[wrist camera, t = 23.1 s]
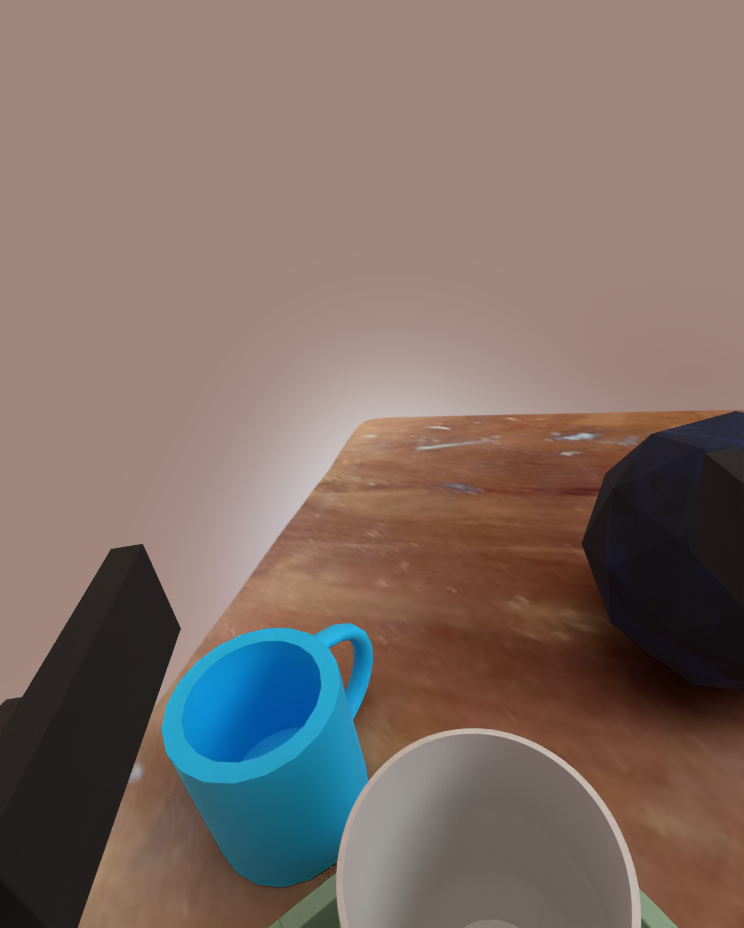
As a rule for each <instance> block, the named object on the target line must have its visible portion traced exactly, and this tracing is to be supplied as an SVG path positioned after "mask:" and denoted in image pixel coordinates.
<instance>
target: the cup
mask: <svg viewBox="0 0 744 928" xmlns="http://www.w3.org/2000/svg"><path fill="white" fill-rule="evenodd" d="M336 894H337V906H338V914H339V920H340V925H341V928H641V905H640V895H639V888H638V882H637V877H636V873H635V869H634V865H633V862H632V858H631V855H630V852H629V850H628V847H627V844H626V842H625V840H624V837H623V835H622V833H621V831H620V829H619V827H618V825H617V823H616V821H615V819H614V818H613V816H612V814H611V812H610V811H609V809H608V808H607V806H606V805H605V803H604V802H603V801H602V799H601V798H600V796H599V795H598V794H597V793H596V791H595V790H594V789H593V788H592V787H591V785H590V784H589V783H588V782H587V781H586V780H585V779H584V778H583V777H582V776H581V775H580V774H579V773H578V772H577V771H576V770H575V769H573V768H572V767H571V766H570V765H569V764H567V763H566V762H565V761H564V760H562V759H561V758H560V757H558V756H557V755H555V754H554V753H552V752H551V751H549V750H547V749H546V748H544V747H542V746H540V745H538V744H536V743H534V742H532V741H530V740H527V739H525V738H522V737H519V736H516V735H513V734H510V733H506V732H502V731H497V730H490V729H478V728H467V729H456V730H449V731H444V732H440V733H437V734H433V735H430V736H428V737H425V738H423V739H420V740H418V741H416V742H414V743H412V744H410V745H409V746H407V747H405V748H404V749H402V750H401V751H399V752H398V753H396V754H395V755H394V756H393V757H391V758H390V759H389V760H388V761H387V762H385V763H384V764H383V765H382V766H381V767H380V768H379V769H378V771H377V772H376V773H375V774H374V775H373V776H372V777H371V779H370V780H369V781H368V783H367V784H366V785H365V787H364V788H363V790H362V791H361V793H360V795H359V796H358V798H357V800H356V802H355V804H354V806H353V808H352V810H351V812H350V815H349V817H348V820H347V822H346V825H345V828H344V832H343V835H342V839H341V843H340V848H339V854H338V861H337V873H336Z"/></svg>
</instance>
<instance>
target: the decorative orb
mask: <svg viewBox="0 0 744 928" xmlns="http://www.w3.org/2000/svg"><path fill="white" fill-rule="evenodd" d="M732 448H739V449H741V450H742V451H743V452H744V413H743V412H738V411H735V412H731V413H727V414H723V415H720V416H716V417H712V418H709V419H705V420H701V421H698V422H694V423H690V424H686V425H683V426H679V427H675V428H672V429H668V430H664V431H661V432H657V433H653V434H651V435H650V436H649V437H647V438H646V439H645V440H644V441H643V442H642V443H641V444H639V445H638V446H637V447H636V448H635V449H634V450H632V451H631V452H630V453H629V454H628V455H627V456H625V457H624V458H623V459H622V460H621V461H620V462H618V463H617V464H616V465H615V466H614V467H613V468H611V469H610V470H609V471H608V472H607V473H606V474H605V477H604V480H603V483H602V486H601V488H600V491H599V494H598V497H597V500H596V503H595V506H594V509H593V512H592V515H591V518H590V520H589V523H588V526H587V529H586V532H585V535H584V538H583V541H582V546H583V548H584V551H585V554H586V557H587V559H588V562H589V565H590V567H591V570H592V573H593V576H594V578H595V581H596V584H597V586H598V589H599V592H600V595H601V597H602V600H603V603H604V605H605V608H606V611H607V614H608V616H609V619H610V622H611V623H612V624H613V625H614V626H615V627H617V628H618V629H619V630H620V631H622V632H623V633H624V634H625V635H626V636H628V637H629V638H630V639H631V640H633V641H634V642H635V643H636V644H638V645H639V646H640V647H641V648H642V649H644V650H645V651H646V652H648V653H649V654H650V655H652V656H653V657H655V658H656V659H657V660H659V661H660V662H662V663H663V664H664V665H666V666H667V667H669V668H670V669H671V670H673V671H674V672H676V673H677V674H679V675H680V676H681V677H683V678H684V679H686V680H687V681H688V682H690V683H691V684H693V685H699V686H707V687H716V688H725V689H734V690H743V691H744V608H743V607H742V605H741V604H740V603H739V602H738V601H737V600H736V599H735V598H734V597H733V596H732V595H731V593H730V592H729V591H728V590H727V589H726V588H725V587H724V586H723V585H722V584H721V583H720V582H719V580H718V579H717V578H716V577H715V576H714V575H713V574H712V573H711V572H710V571H709V570H708V568H707V567H706V566H705V565H704V564H703V563H702V562H701V561H700V560H699V559H698V558H697V557H696V555H695V554H694V553H693V552H692V551H691V550H690V549H689V548H690V541H691V535H692V528H693V522H694V515H695V509H696V502H697V496H698V489H699V483H700V476H701V470H702V463H703V457H704V453H708V452H714V451H720V450H726V449H732Z"/></svg>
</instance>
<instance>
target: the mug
mask: <svg viewBox="0 0 744 928" xmlns="http://www.w3.org/2000/svg"><path fill="white" fill-rule="evenodd" d="M346 640H349V641H351V643H352V645H353V651H354V662H353V667H352V673H351V677H350V679H349V682H348V685H347V688H346V691H345V689H344V686H343V682H342V678H341V675H340V671H339V668H338V664H337V661H336V660H335V658H334V657H333V655H332V653H331V652H330V650H329V648H331V647H332V646H334V645H336V644H338V643H339V642H341V641H346ZM372 664H373V652H372V644H371V642H370V640H369V638H368V636H367V634H366V632H365V631H364V630H363V629H361V628H359V627H357V626H355V625H353V624H350V623H344V624H337V625H331V626H329V627H327V628H326V629H324V630H322V631H320V632H318V633H316V634H315V635H313V636H312V635H311V634H309V633H305V632H302V631H298V630H294V629H291V628H266V629H262V630H258V631H254V632H250V633H246V634H242V635H240V636H238V637H236V638H234V639H232V640H229V641H227V642H225V643H223V644H221V645H219V646H217V647H216V648H215V649H213V650H212V651H211V652H209V653H208V654H207V655H205V656H204V657H203V658H201V659H200V660H199V661H197V662H196V663H195V664H194V666H193V667H192V668H191V669H190V670H189V671H188V672H187V674H186V675H185V676H184V677H183V678H182V679H181V680H180V681H179V683H178V685H177V687H176V688H175V690H174V692H173V694H172V696H171V698H170V700H169V702H168V704H167V705H166V710H165V715H164V721H163V726H162V734H163V739H164V744H165V749H166V753H167V755H168V757H169V759H170V760H171V762H172V764H173V766H174V768H175V769H176V771H177V773H178V775H179V777H180V778H181V780H182V782H183V784H184V786H185V787H186V789H187V791H188V793H189V795H190V796H191V798H192V800H193V802H194V804H195V805H196V807H197V809H198V811H199V813H200V814H201V816H202V818H203V820H204V822H205V823H206V825H207V827H208V829H209V831H210V832H211V834H212V836H213V838H214V840H215V841H216V843H217V845H218V847H219V849H220V850H221V852H222V854H223V855H224V857H225V858H226V859H227V861H228V862H229V864H230V865H231V866H232V868H233V869H234V870H235V872H236V873H237V874H239V875H241V876H243V877H244V878H246V879H248V880H250V881H252V882H253V883H255V884H257V885H264V886H275V887H286V886H290V885H293V884H297V883H301V882H304V881H308V880H311V879H312V878H314V877H315V876H317V875H318V874H320V873H321V872H323V871H324V870H326V869H327V868H329V867H330V866H332V865H333V864H335V863H336V862H337V861H338V854H339V848H340V843H341V839H342V835H343V832H344V828H345V825H346V822H347V820H348V817H349V815H350V812H351V810H352V808H353V806H354V804H355V802H356V800H357V798H358V796H359V795H360V793H361V791H362V790H363V788H364V787H365V785H366V784H367V783H368V775H367V769H366V765H365V761H364V757H363V754H362V750H361V747H360V743H359V739H358V736H357V732H356V729H355V725H354V722H353V719H354V717H355V715H356V713H357V711H358V709H359V707H360V705H361V703H362V701H363V698H364V695H365V693H366V690H367V687H368V684H369V681H370V676H371V670H372Z"/></svg>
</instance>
